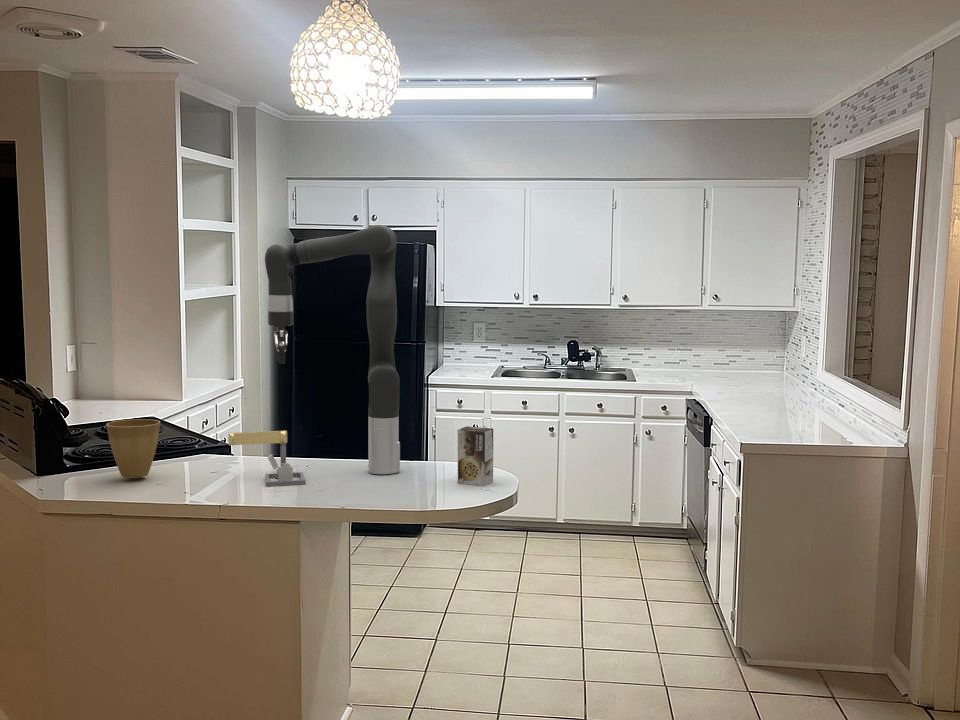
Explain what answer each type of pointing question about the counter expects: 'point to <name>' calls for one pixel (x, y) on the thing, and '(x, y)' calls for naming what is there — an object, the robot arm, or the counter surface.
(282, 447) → the switch
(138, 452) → the plant pot
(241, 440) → the gold bar
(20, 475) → the counter surface
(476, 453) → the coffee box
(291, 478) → the grey angled piece
